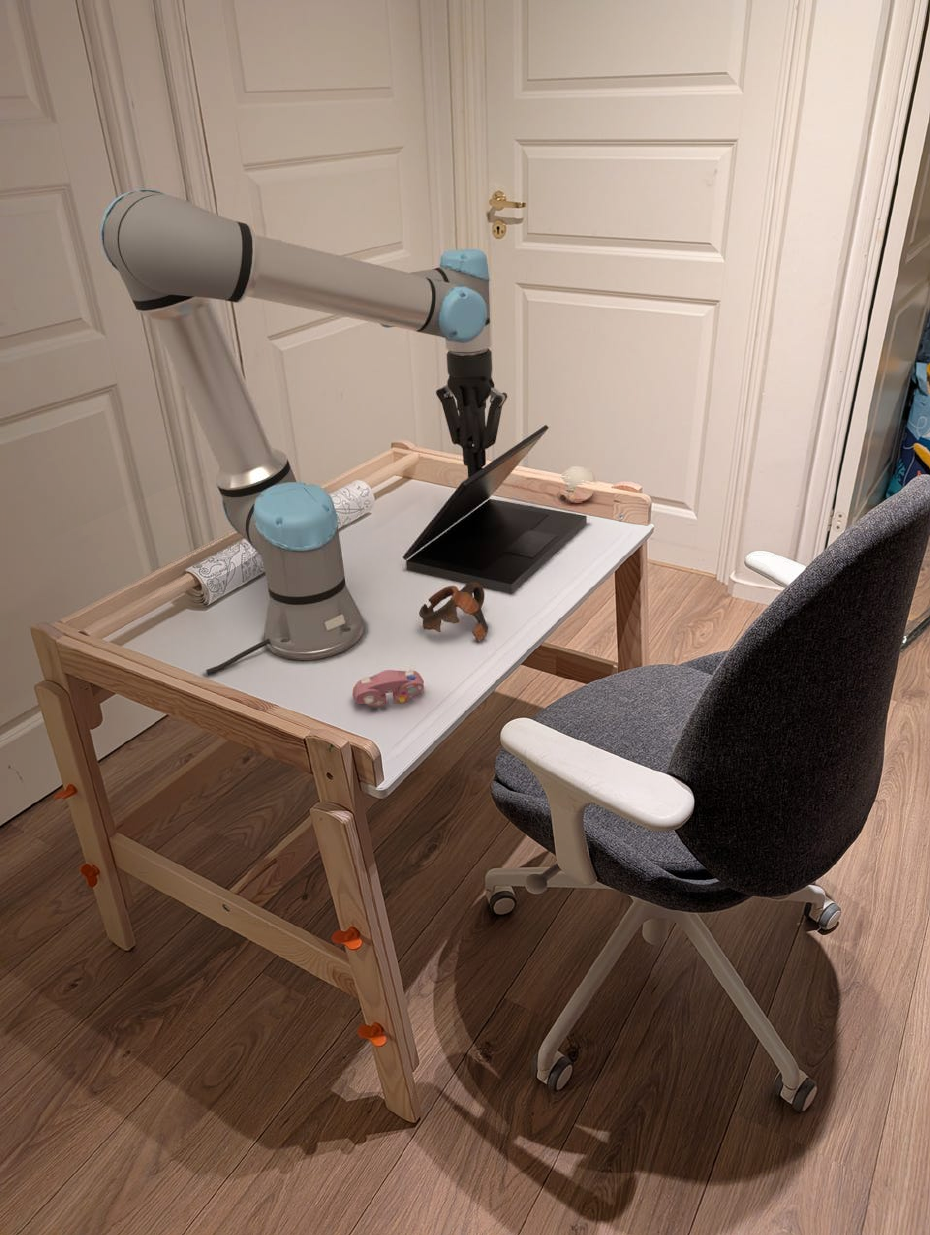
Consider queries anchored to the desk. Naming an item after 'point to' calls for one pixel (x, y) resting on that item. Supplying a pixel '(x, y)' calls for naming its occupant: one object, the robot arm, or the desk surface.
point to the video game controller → (388, 687)
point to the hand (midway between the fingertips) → (475, 483)
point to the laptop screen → (475, 491)
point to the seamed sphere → (577, 477)
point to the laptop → (497, 545)
